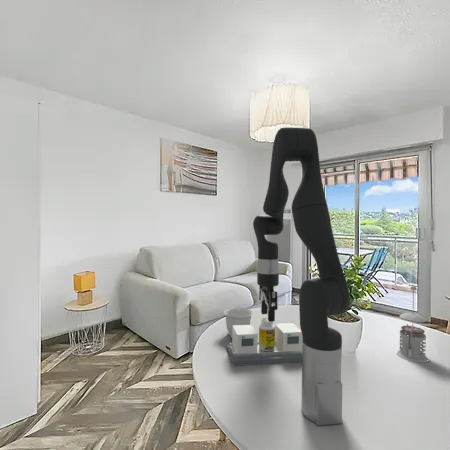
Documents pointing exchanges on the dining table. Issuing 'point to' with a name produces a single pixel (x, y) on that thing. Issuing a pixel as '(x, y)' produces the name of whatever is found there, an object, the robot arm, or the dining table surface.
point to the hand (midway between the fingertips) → (267, 317)
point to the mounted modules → (284, 338)
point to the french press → (412, 337)
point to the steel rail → (263, 352)
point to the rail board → (264, 359)
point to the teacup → (237, 317)
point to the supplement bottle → (266, 335)
